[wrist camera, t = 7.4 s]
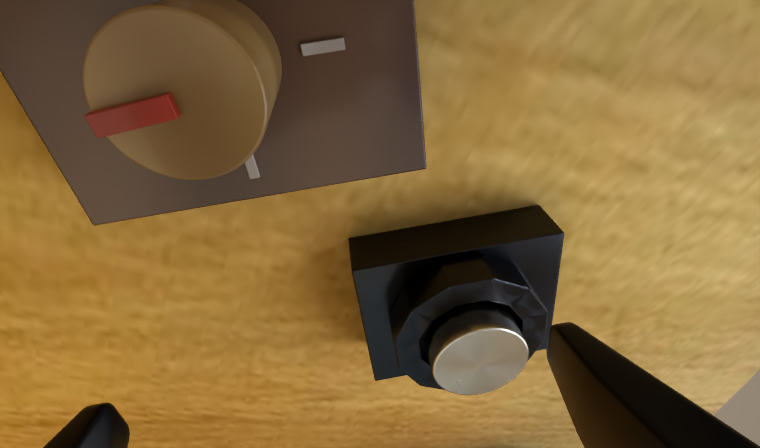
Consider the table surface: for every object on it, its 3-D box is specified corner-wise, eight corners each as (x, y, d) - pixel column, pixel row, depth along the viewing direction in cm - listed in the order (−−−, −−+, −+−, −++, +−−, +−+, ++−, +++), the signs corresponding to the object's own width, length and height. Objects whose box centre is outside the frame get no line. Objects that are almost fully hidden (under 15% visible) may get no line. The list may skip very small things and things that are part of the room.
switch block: (539, 204, 22) (585, 255, 18) (528, 314, 26) (564, 375, 22) (348, 237, 21) (354, 297, 17) (370, 344, 26) (379, 410, 22)
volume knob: (255, -23, 12) (224, -16, 8) (298, 108, 14) (289, 165, 10) (124, 10, 12) (29, 33, 8) (186, 136, 14) (135, 203, 10)
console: (386, -150, 13) (402, -177, 11) (412, 141, 19) (427, 171, 16) (-23, -90, 13) (-111, -104, 10) (124, 190, 18) (90, 228, 16)
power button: (516, 292, 19) (532, 320, 17) (511, 356, 21) (526, 385, 20) (421, 310, 19) (429, 339, 17) (427, 372, 21) (435, 403, 20)
